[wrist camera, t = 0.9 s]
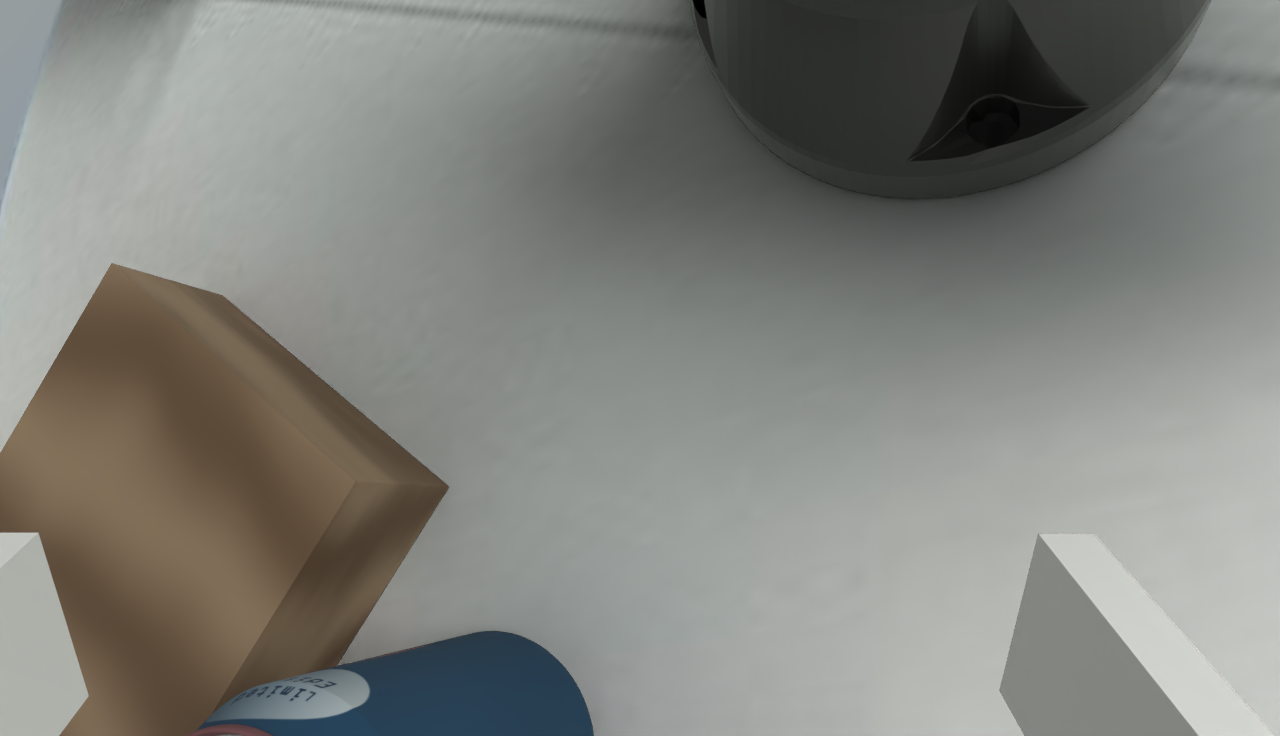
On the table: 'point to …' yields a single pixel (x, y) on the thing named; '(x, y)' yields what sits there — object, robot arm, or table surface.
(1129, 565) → the table surface
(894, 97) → the robot arm
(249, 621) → the block
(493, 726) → the soda can
